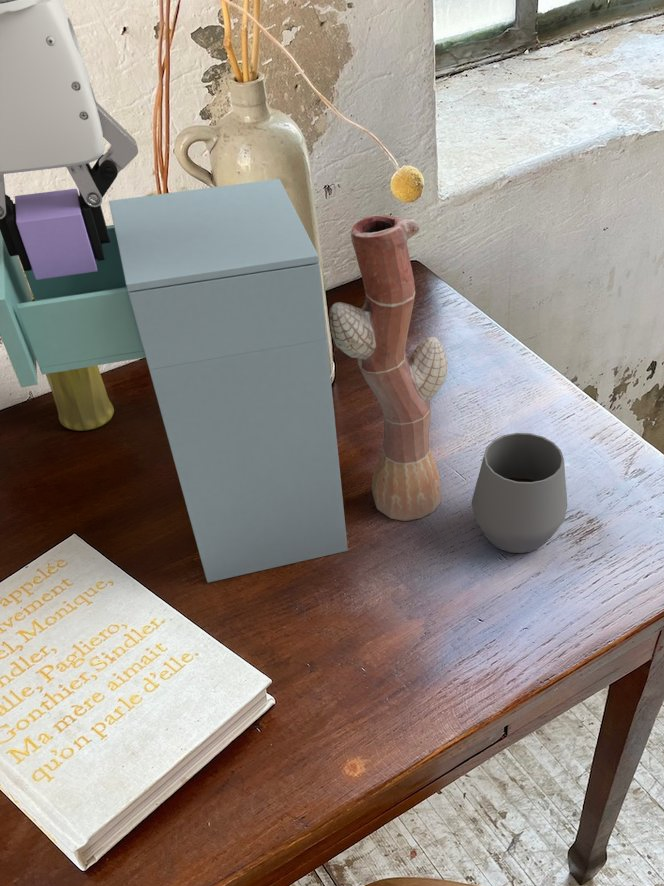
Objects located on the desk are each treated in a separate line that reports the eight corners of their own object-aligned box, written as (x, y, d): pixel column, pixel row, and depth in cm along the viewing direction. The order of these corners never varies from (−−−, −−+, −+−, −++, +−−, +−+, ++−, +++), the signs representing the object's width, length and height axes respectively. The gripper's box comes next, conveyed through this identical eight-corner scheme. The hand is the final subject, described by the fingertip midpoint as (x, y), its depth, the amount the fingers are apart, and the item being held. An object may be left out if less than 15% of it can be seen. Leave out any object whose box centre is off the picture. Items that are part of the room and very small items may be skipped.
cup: (468, 564, 89) (472, 487, 82) (471, 501, 96) (474, 424, 88) (564, 568, 89) (576, 492, 82) (561, 505, 95) (571, 428, 88)
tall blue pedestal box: (207, 583, 87) (125, 284, 64) (186, 492, 96) (108, 200, 73) (347, 551, 90) (318, 255, 67) (315, 465, 99) (279, 178, 76)
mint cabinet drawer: (-51, 401, 66) (-93, 313, 61) (-47, 306, 75) (-83, 222, 69) (209, 356, 70) (191, 271, 65) (184, 272, 79) (166, 190, 74)
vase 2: (444, 474, 99) (447, 200, 76) (449, 519, 94) (454, 241, 71) (347, 478, 98) (321, 202, 76) (347, 524, 93) (320, 244, 71)
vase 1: (62, 436, 102) (19, 323, 91) (57, 406, 106) (15, 294, 95) (117, 425, 104) (82, 312, 93) (111, 395, 107) (75, 284, 97)
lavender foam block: (36, 280, 67) (15, 222, 63) (33, 252, 69) (14, 195, 66) (97, 271, 68) (81, 213, 64) (93, 244, 70) (76, 188, 67)
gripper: (111, -54, 59) (170, 220, 73) (-174, -36, 55) (-55, 250, 69) (122, -23, 54) (184, 264, 68) (-189, -1, 50) (-58, 299, 64)
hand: (63, 255), depth 68 cm, fingers closed on lavender foam block, 4 cm apart
